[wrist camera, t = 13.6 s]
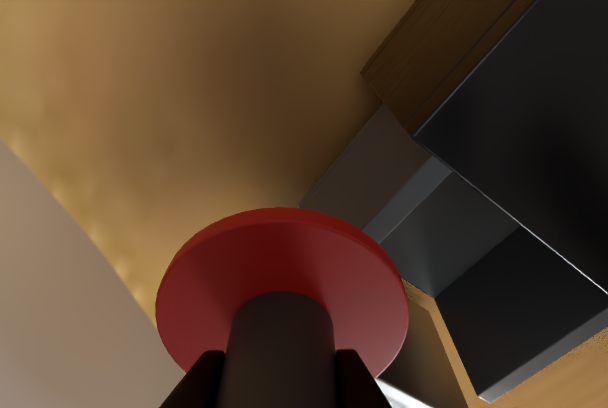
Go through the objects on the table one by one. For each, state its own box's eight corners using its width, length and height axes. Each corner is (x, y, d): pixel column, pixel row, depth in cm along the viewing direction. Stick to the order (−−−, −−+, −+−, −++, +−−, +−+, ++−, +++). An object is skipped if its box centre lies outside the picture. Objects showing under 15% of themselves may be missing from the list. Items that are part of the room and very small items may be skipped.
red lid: (392, 387, 11) (440, 598, 7) (184, 389, 11) (120, 601, 7) (418, 204, 8) (523, 390, 4) (138, 208, 8) (-10, 397, 4)
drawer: (359, 369, 24) (379, 493, 18) (207, 290, 21) (170, 408, 15) (608, 162, 17) (769, 248, 11) (442, -1, 14) (545, 2, 8)
